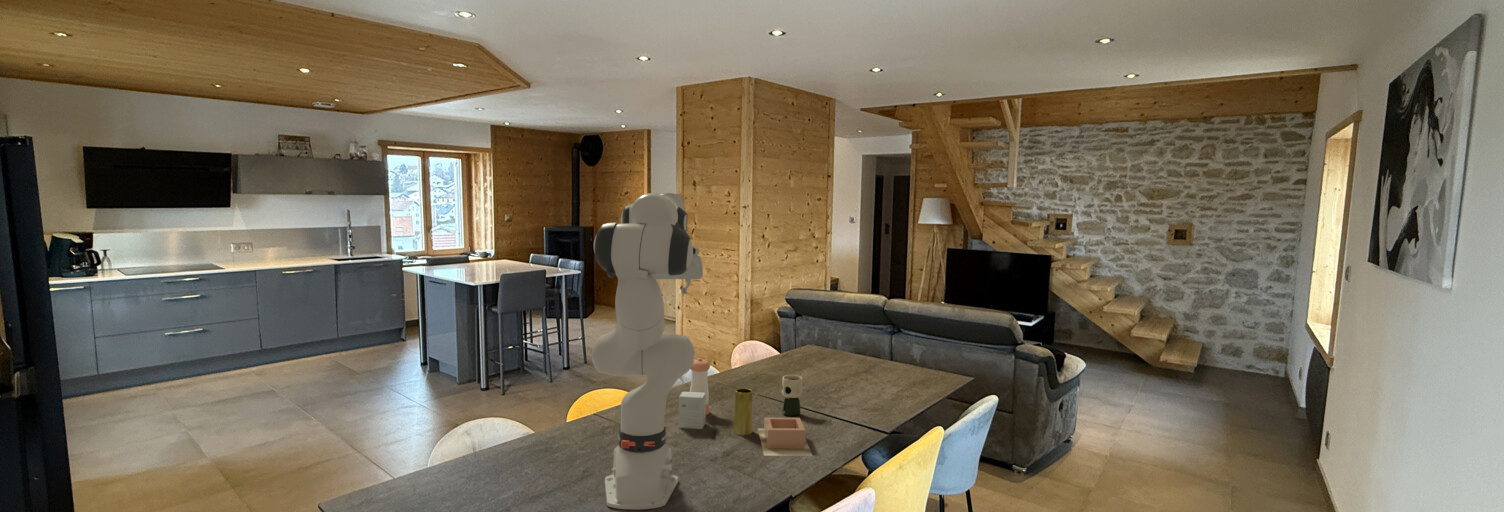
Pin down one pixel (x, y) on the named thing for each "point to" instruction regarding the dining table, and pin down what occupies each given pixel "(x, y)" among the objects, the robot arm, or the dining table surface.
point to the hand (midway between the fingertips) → (668, 294)
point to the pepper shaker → (700, 379)
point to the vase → (743, 411)
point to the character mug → (792, 394)
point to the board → (783, 449)
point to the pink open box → (784, 433)
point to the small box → (692, 410)
